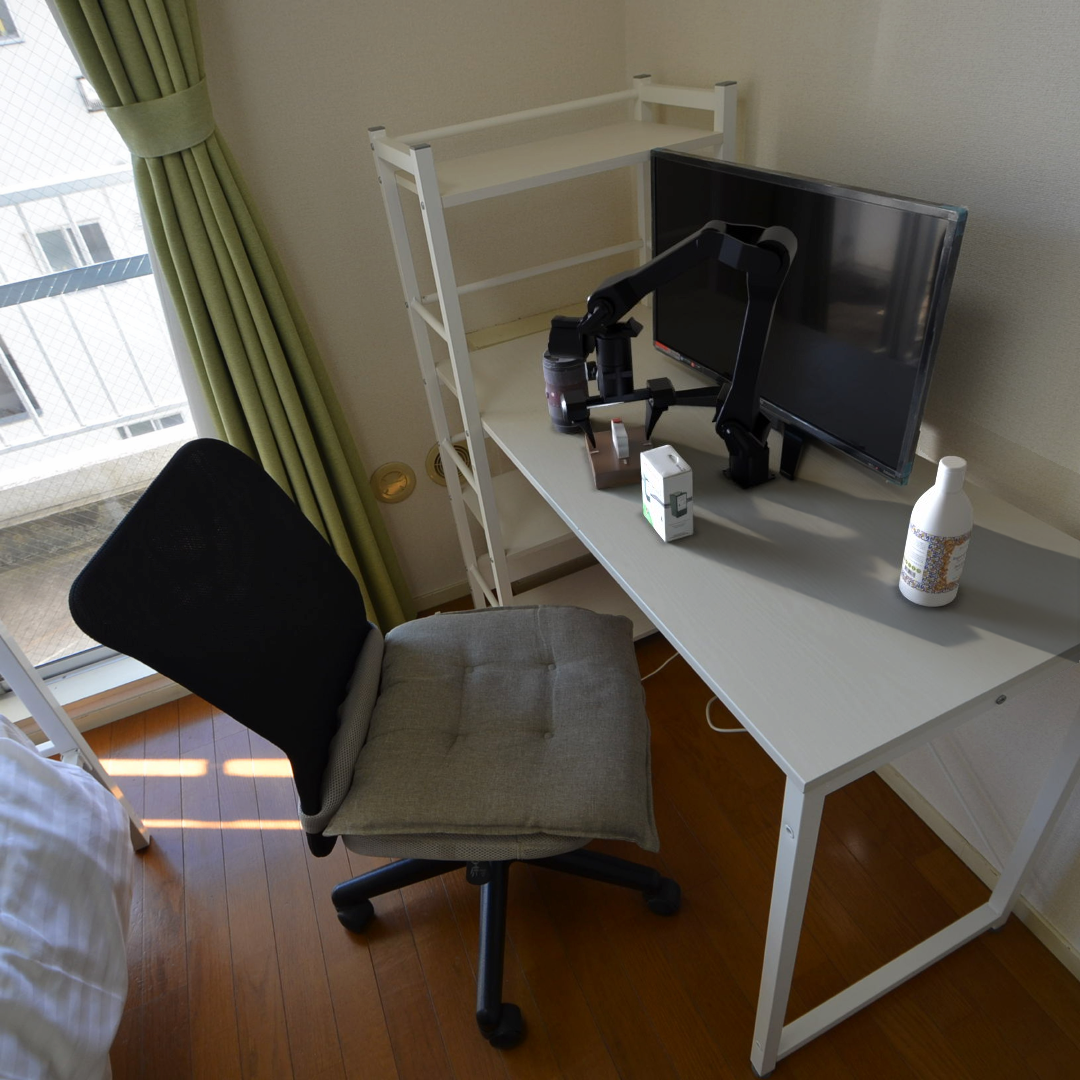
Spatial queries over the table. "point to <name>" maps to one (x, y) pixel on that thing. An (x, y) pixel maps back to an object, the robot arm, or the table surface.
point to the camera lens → (563, 387)
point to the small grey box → (620, 438)
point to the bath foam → (938, 538)
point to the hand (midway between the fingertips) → (620, 443)
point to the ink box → (667, 492)
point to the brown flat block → (606, 460)
